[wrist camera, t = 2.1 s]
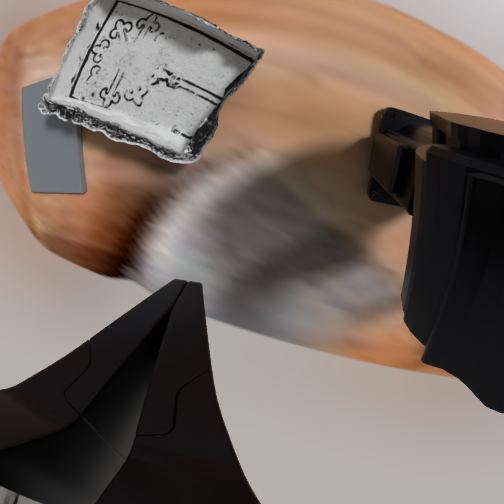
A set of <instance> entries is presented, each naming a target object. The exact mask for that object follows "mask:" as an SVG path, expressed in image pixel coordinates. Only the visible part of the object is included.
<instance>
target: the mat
mask: <svg viewBox="0 0 504 504" xmlns="http://www.w3.org/2000/svg"><path fill="white" fill-rule="evenodd" d="M51 80H52V78H50V79H46V80H43V81H40V82H37V83H34V84H32V85H29V86H26V87H23V88H22V121H23V136H24V146H25V155H26V163H27V170H28V176H29V182H30V188H31V192H58V193H84V192H86V191H87V187H86V179H85V170H84V160H83V148H82V133H81V124H79V125H78V124H74V123H73V122H72V119H73V117H71V118H70V119H69V120H68V121H63V120H62V119H59V118H58V116H57V115H56V114H50V115H49V114H42V113H41V111H40V110H39V109H38V104H39V103H43V102H44V100H43V98H42V97H43V95H44V94H45V93H48V89H47V87H48V86H49V84H50V83H51Z"/></svg>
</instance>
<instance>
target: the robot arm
mask: <svg viewBox="0 0 504 504" xmlns="http://www.w3.org/2000/svg"><path fill="white" fill-rule="evenodd" d="M390 111H392V112H393V117H392V118H389V115H388V114H389V112H390ZM368 171H369V173H370V174H371V176H370V180H369V185H368V189H367V195H368V197H369V198H370V199H371V200H372V201H376V202H381V203H386V204H391V205H396V206H400V207H403V208H404V209H405V210H406V212H407V213H408V214H409V215H412V216H413V217H412V227H411V236H410V244H409V251H408V258H407V265H406V271H405V277H404V282H403V287H402V293H401V300H402V306H403V311H404V318H403V319H404V322H405V324H406V325H407V327H408V328H409V330H410V332H411V333H412V334H413V335H414V336H415V337H416V338H417V339H418V340H419V341H420V342H421V343H422V344H423V345H425V346H426V348H425V350H424V352H423V355H422V357H421V360H422V362H423V363H425V364H428V365H431V366H434V367H438V368H441V369H443V370H445V371H447V372H448V373H450V374H452V375H453V376H455V377H457V378H458V379H460V380H461V381H462V382H463V383H464V384H465V385H466V386H467V387H468V388H469V389H470V390H471V391H472V392H473V393H474V394H475V396H476V397H477V398H478V399H479V400H480V401H481V402H482V403H483V404H484V405H485V406H486V407H488V408H490V409H493V410H495V411H497V412H499V413H504V122H502V121H499V120H494V119H489V118H483V117H477V116H471V115H464V114H456V113H447V112H438V111H430V120H429V119H426V118H423V117H420V116H417V115H414V114H411V113H408V112H405V111H402V110H399V109H396V108H392V107H387V108H385V109H384V111H383V115H382V121H381V127H380V132H379V133H378V134H376V135H375V139H374V144H373V149H372V154H371V159H370V163H369V168H368ZM373 191H377V194H376V195H375V196H372V192H373ZM0 504H261V503H260V502H259V500H258V499H257V497H256V495H255V493H254V492H253V490H252V488H251V486H250V485H249V483H248V481H247V479H246V477H245V475H244V472H243V470H242V468H241V465H240V463H239V461H238V458H237V456H236V453H235V451H234V448H233V445H232V442H231V440H230V437H229V434H228V431H227V429H226V426H225V423H224V420H223V417H222V414H221V411H220V407H219V404H218V401H217V396H216V391H215V386H214V379H213V373H212V366H211V358H210V351H209V343H208V335H207V326H206V317H205V308H204V298H203V288H202V284H201V283H199V282H192V281H190V282H187V281H185V280H179V279H174V280H172V281H171V282H169V283H168V284H167V285H165V286H164V287H162V288H161V289H159V290H158V291H156V292H155V293H154V294H152V295H151V296H149V297H148V298H146V299H145V300H144V301H142V302H141V303H139V304H138V305H136V306H135V307H134V308H132V309H131V310H130V311H128V312H127V313H125V314H124V315H122V316H121V317H120V318H118V319H117V320H115V321H114V322H112V323H111V324H110V325H108V326H107V327H105V328H104V329H103V330H101V331H100V332H99V333H97V334H96V335H94V336H93V337H92V338H90V340H87V341H86V342H85V343H83V344H82V345H81V346H79V347H78V348H76V349H75V350H73V351H72V352H70V353H69V354H68V355H66V356H65V357H63V358H61V359H60V360H58V361H57V362H55V363H53V364H52V365H50V366H48V367H47V368H45V369H44V370H42V371H40V372H38V373H37V374H35V375H33V376H31V377H30V378H28V379H26V380H25V381H23V382H21V383H19V384H18V385H16V386H13V387H11V388H7V389H2V390H0Z"/></svg>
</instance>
